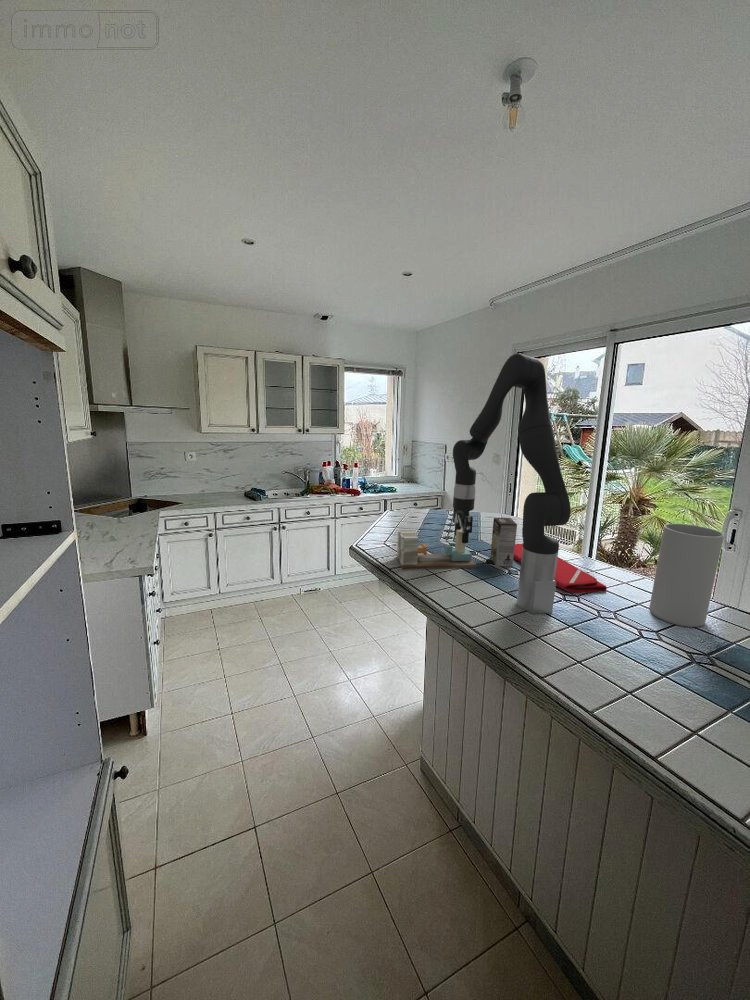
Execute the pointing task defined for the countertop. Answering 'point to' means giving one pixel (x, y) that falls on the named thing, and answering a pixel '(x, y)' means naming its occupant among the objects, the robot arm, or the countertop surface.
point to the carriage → (458, 549)
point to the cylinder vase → (685, 574)
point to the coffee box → (503, 541)
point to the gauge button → (422, 549)
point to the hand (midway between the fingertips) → (460, 539)
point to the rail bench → (413, 560)
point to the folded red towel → (569, 576)
